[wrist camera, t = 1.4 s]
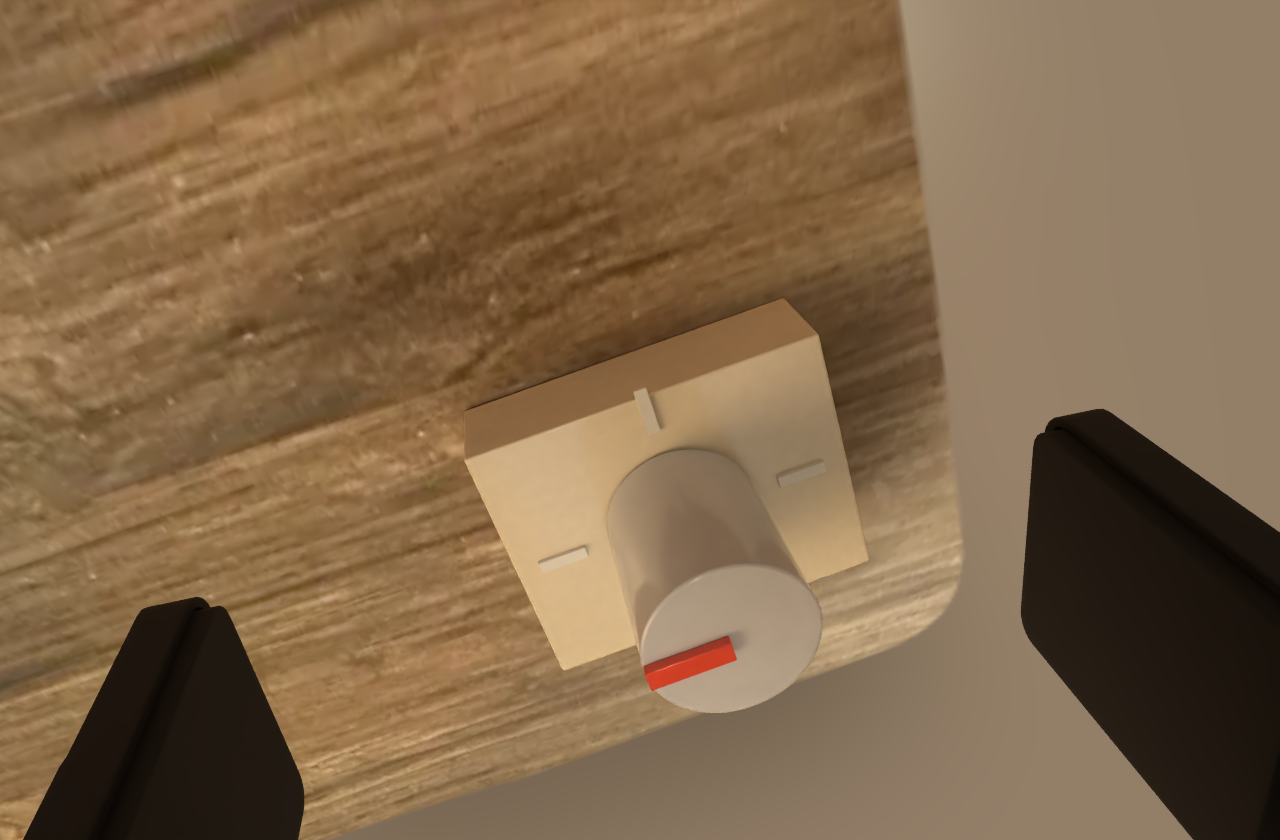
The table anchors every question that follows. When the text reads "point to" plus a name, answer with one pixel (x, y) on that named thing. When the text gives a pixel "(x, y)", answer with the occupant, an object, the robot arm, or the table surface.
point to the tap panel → (645, 428)
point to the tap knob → (709, 584)
